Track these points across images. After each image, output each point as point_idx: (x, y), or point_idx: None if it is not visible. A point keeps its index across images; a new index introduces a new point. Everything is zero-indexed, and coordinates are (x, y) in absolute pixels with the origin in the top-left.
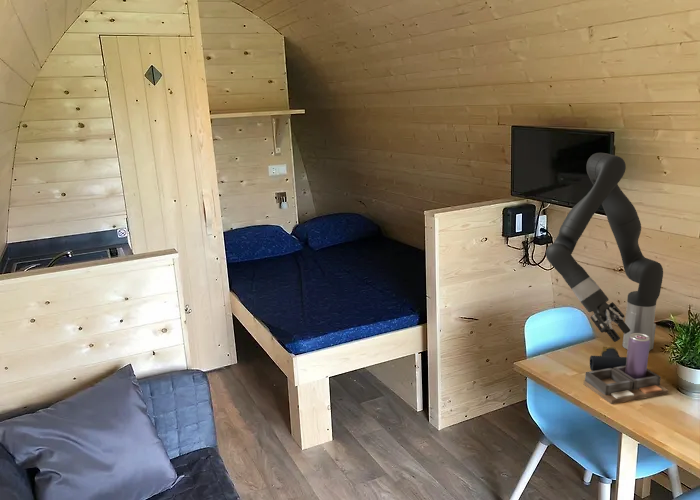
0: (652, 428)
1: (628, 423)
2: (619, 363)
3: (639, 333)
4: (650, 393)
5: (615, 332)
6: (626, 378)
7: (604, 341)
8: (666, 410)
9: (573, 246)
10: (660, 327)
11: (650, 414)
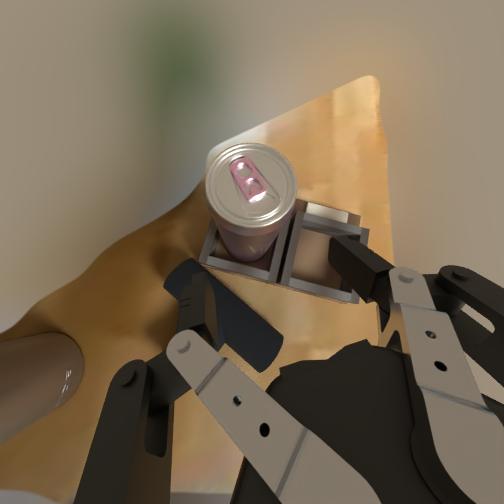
0: (357, 138)
1: (380, 165)
2: (229, 295)
3: (214, 206)
4: None
5: (362, 254)
6: (297, 226)
7: (73, 460)
8: (287, 155)
9: None
10: None
11: (323, 162)
